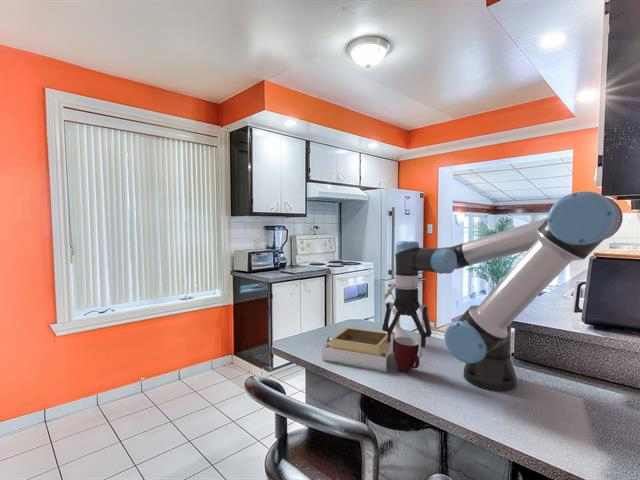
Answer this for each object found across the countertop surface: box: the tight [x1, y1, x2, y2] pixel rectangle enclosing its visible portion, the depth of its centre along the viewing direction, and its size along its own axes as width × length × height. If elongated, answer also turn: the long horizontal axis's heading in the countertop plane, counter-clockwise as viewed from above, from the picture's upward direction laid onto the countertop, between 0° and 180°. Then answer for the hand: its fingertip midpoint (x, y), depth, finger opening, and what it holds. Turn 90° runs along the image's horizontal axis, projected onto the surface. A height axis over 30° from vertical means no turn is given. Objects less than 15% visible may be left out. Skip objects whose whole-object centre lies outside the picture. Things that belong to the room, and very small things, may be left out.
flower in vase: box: [382, 283, 411, 338], centre depth 145 cm, size 13×11×25 cm
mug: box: [394, 337, 420, 373], centre depth 115 cm, size 11×8×10 cm
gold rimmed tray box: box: [321, 327, 395, 373], centre depth 129 cm, size 28×18×8 cm, turn 63°
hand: (406, 354), depth 115 cm, fingers closed on mug, 9 cm apart
